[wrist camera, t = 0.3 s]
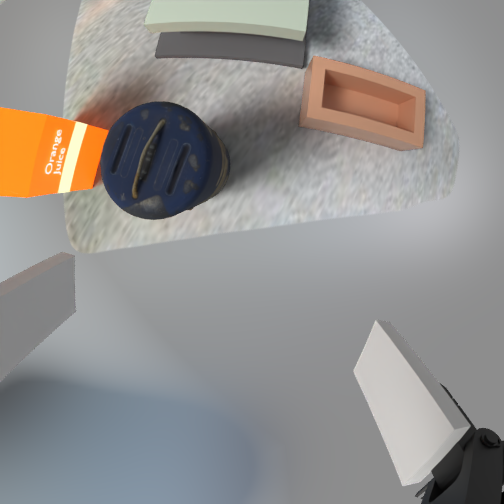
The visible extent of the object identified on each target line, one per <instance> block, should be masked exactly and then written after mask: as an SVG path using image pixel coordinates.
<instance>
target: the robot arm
mask: <svg viewBox="0 0 504 504" xmlns="http://www.w3.org/2000/svg"><path fill="white" fill-rule="evenodd" d="M74 273H75V256H74V255H71V254H67V253H63V252H61V253H59V254H57V255H54V256H52V257H50V258H48V259H46V260H44V261H42V262H40V263H38V264H36V265H34V266H32V267H30V268H28V269H26V270H24V271H22V272H20V273H18V274H16V275H15V276H13V277H11V278H9V279H7V280H5V281H3V282H1V283H0V382H1V381H2V379H4V377H6V375H8V374H9V372H11V371H12V370H13V369H14V368H15V367H16V366H17V365H18V364H19V363H20V362H21V361H22V360H23V359H24V358H25V357H26V356H27V355H28V354H29V353H30V352H31V351H32V350H33V349H35V347H37V346H38V345H39V344H40V343H41V342H42V341H43V340H44V339H45V338H47V337H48V336H49V335H50V334H51V333H52V332H53V331H54V330H55V329H57V327H59V326H60V325H61V324H62V323H63V322H64V321H65V320H67V319H68V318H69V317H70V316H71V315H72V314H74V313H75V312H76V309H75V308H76V306H75V276H74V275H75V274H74ZM353 371H354V374H355V376H356V378H357V380H358V382H359V385H360V387H361V389H362V391H363V394H364V396H365V398H366V400H367V402H368V405H369V407H370V409H371V412H372V414H373V416H374V418H375V421H376V423H377V425H378V428H379V430H380V432H381V434H382V437H383V439H384V442H385V444H386V446H387V449H388V451H389V454H390V456H391V458H392V461H393V463H394V465H395V468H396V471H397V473H398V476H399V478H400V481H401V483H402V485H403V486H405V485H410V484H414V483H418V482H421V480H423V479H424V478H425V477H426V476H427V475H428V474H429V473H430V472H432V474H433V476H434V478H433V479H432V480H431V481H430V482H428V484H427V485H425V486H424V487H423V488H422V489H421V490H420V491H419V492H418V493H417V494H416V495H415V497H418V496H419V495H420V494H422V493H423V492H424V491H426V492H425V494H424V496H423V497H422V498H421V499H423V500H422V503H421V504H504V492H502V486H503V485H504V441H501V439H500V438H499V436H498V435H497V434H496V433H495V432H493V431H492V430H490V429H486V428H479V429H478V430H476V428H475V427H474V425H473V424H472V422H471V421H470V420H469V418H468V417H467V415H466V414H465V413H464V411H463V410H462V409H461V407H460V406H458V403H457V402H456V401H455V399H453V398H452V395H451V394H450V393H449V391H448V390H447V389H446V388H445V387H444V386H443V385H442V384H440V383H439V382H438V381H437V379H436V378H435V377H434V376H433V374H432V373H431V372H430V371H429V369H428V368H427V367H426V365H425V364H424V363H423V362H422V360H421V359H420V358H419V357H418V355H417V354H416V353H415V352H414V350H413V349H412V348H411V347H410V345H409V344H408V343H407V342H406V341H405V340H404V338H403V337H402V336H401V335H400V333H399V332H398V331H397V330H396V329H395V327H394V326H393V325H392V324H391V323H390V322H386V321H379V320H376V321H375V323H374V325H373V328H372V330H371V333H370V335H369V337H368V340H367V342H366V345H365V347H364V349H363V351H362V353H361V356H360V358H359V360H358V362H357V364H356V366H355V368H354V370H353Z"/></svg>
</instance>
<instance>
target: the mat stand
mask: <svg viewBox="0 0 504 504" xmlns="http://www.w3.org/2000/svg"><path fill="white" fill-rule="evenodd" d="M309 3H310V0H309ZM308 13H309V6H308ZM307 23H308V17H307ZM306 33H307V27H306ZM306 33H305V36H304V38H303V41H299V40H293V39H287V38H281V37H274V36H266V35H257V34H247V33H234V32H214V31H179V32H161V34H160V37H159V41H158V45H157V49H156V52H155V57H156V58H215V59H231V60H243V61H253V62H262V63H269V64H276V65H283V66H289V67H295V68H301V69H302V67H303V61H304V52H305V43H306Z"/></svg>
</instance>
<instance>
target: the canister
mask: <svg viewBox="0 0 504 504" xmlns="http://www.w3.org/2000/svg"><path fill="white" fill-rule="evenodd" d="M100 165H101V175H102V180H103V183H104V186H105V188H106V190H107V192H108V194H109V196H110V197H111V199H112V200H113V201H114V202H115V203H116V204H117V205H118V206H119V207H120V208H121V209H123V210H124V211H126V212H127V213H129V214H131V215H133V216H136V217H139V218H144V219H151V220H156V219H164V218H169V217H172V216H175V215H177V214H179V213H181V212H183V211H185V210H192V209H193V207H195V206H197V205H199V204H201V203H204V202H206V201H207V200H209V199H210V198H212V197H213V196H215V195H216V194H217V193H218V192H219V191H220V190H221V189H222V188H223V186H224V185H225V183H226V181H227V179H228V176H229V172H230V158H229V154H228V151H227V149H226V147H225V145H224V144H223V142H222V141H221V140H220V139H219V137H218V136H217V134H216V132H214V131H213V130H212V129H211V128H209V127H208V126H207V125H206V124H205V123H204V122H203V121H202V120H201V119H200V118H199V117H198V116H197V115H196V114H195V113H193V112H192V111H191V110H189V109H187V108H185V107H183V106H181V105H178V104H175V103H171V102H150V103H146V104H142V105H140V106H137V107H135V108H133V109H132V110H130V111H128V112H127V113H125V114H124V115H123V116H122V117H120V119H119V120H117V122H116V123H115V124H114V125H113V126H112V127H111V129H110V131H109V133H108V135H107V137H106V139H105V142H104V145H103V149H102V153H101V161H100Z"/></svg>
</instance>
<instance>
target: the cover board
mask: <svg viewBox="0 0 504 504" xmlns="http://www.w3.org/2000/svg"><path fill="white" fill-rule="evenodd" d="M308 6H309V0H152V1H151V4H150V7H149V10H148V13H147V16H146V19H145V22H144V26H145V27H146V28H147V30H148V31H149V32H150V33H159V32H179V31H214V32H234V33H247V34H257V35H266V36H274V37H281V38H287V39H293V40H299V41H303V38H304V36H305V33H306V27H307V17H308Z"/></svg>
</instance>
